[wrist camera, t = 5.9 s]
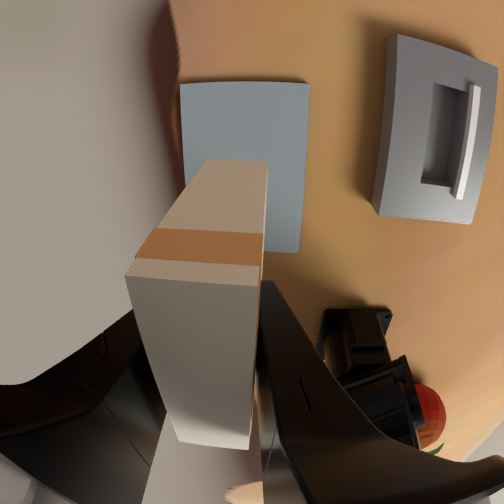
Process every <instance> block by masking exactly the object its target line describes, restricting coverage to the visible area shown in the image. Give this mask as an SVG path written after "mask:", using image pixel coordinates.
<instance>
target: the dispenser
mask: <svg viewBox="0 0 504 504" xmlns="http://www.w3.org/2000/svg"><path fill="white" fill-rule="evenodd" d="M497 79H498V68H497V67H495V66H493V65H490V64H488V63H486V62H483V61H481V60H479V59H476V58H474V57H471V56H468V55H466V54H463V53H460V52H458V51H455V50H452V49H449V48H446V47H443V46H440V45H437V44H434V43H430V42H427V41H423V40H420V39H416V38H413V37H409V36H405V35H401V34H395V35H391V36H388V37H387V43H386V72H385V89H384V103H383V114H382V125H381V134H380V143H379V151H378V159H377V167H376V174H375V181H374V187H373V193H372V199H371V205H372V207H373V208H374V210H375V211H376V213H377V214H378V216H387V217H399V218H411V219H422V220H433V221H443V222H453V223H462V224H471V223H472V220H473V216H474V213H475V209H476V205H477V202H478V198H479V194H480V190H481V186H482V182H483V177H484V173H485V168H486V163H487V158H488V153H489V147H490V141H491V135H492V128H493V121H494V113H495V104H496V93H497Z"/></svg>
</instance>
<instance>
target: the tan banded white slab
mask: <svg viewBox="0 0 504 504" xmlns="http://www.w3.org/2000/svg"><path fill="white" fill-rule="evenodd" d="M267 178H268V161H254V160H228V159H207V160H206V161H205V163H204V164H203V165H202V167H201V168H200V169H199V170H198V172H197V173H196V174H195V176H194V177H193V178H192V180H191V181H190V182H189V184H188V185H187V186H186V188H185V189H184V190H183V192H182V193H181V194H180V196H179V197H178V198H177V200H176V201H175V202H174V204H173V205H172V207H171V208H170V209H169V211H168V212H167V213H166V215H165V216H164V218H163V219H162V221H161V222H160V223H159V225H158V226H157V228H154V229H153V231H152V232H151V234H150V235H149V237H148V238H147V239H146V241H145V243H144V244H143V245H142V247H141V248H140V250H139V251H138V253H137V254H136V256H135V260H134V262H133V263H132V265H131V266H130V268H129V269H128V271H127V273H126V274H125V279H126V284H127V288H128V291H129V295H130V299H131V303H132V306H133V310H134V314H135V318H136V321H137V325H138V328H139V331H140V335H141V338H142V341H143V345H144V348H145V351H146V354H147V357H148V360H149V363H150V366H151V369H152V372H153V375H154V378H155V381H156V384H157V386H158V389H159V392H160V395H161V397H162V400H163V403H164V405H165V408H166V410H167V413H168V415H169V418H170V421H171V423H172V425H173V428H174V430H175V433H176V435H177V437H178V439H179V441H180V442H186V443H192V444H200V445H206V446H214V447H223V448H233V449H245V450H248V449H249V438H250V435H251V423H252V411H253V397H254V382H255V367H256V351H257V335H258V319H259V303H260V286H261V280H262V269H263V252H264V234H265V216H266V197H267Z"/></svg>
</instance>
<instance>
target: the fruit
mask: <svg viewBox="0 0 504 504" xmlns="http://www.w3.org/2000/svg"><path fill="white" fill-rule="evenodd" d="M415 388H416V391H417V395H418V398H419V402H420V405H421V409H422V413H423V416H424V420H425V424H426V425H425V426H423V427H420V428H418V429H417V431H418V435H419V439H420V444H421V449H423V448H425V447H427V446H429V445H430V444H432V443H434V442H435V441H436V440H437V439H438V438H439V437H440V435H441V433H442V432H443V430H444V427H445V423H446V411H445V407H444V405H443V403H442V401H441V398H440V396H439V395H438V394H437V393H436V392H435V391H434V390H433V389H431V388H429V387H427V386H425V385H423V384H415ZM443 444H444V443H443ZM443 444H442V445H441V446H440V447H438V448H437V449H435V450H432V451H430V452H427V453H430V454H432V455H434V454H436V453H438V452H439V451H440V449H441V448H442V446H443Z"/></svg>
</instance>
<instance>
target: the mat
mask: <svg viewBox="0 0 504 504" xmlns="http://www.w3.org/2000/svg"><path fill="white" fill-rule="evenodd" d="M309 94H310V84H305V83H289V82H257V81H238V82H206V83H190V84H180V101H181V124H182V143H183V158H184V173H185V186H187V185H188V184H189V182H190V181H191V180H192V178H193V177H194V176H195V174H196V173H197V172H198V170H199V169H200V168H201V167H202V165H203V164H204V163H205V161H206V160H207V159H228V160H254V161H268V178H267V197H266V216H265V234H264V252H283V253H299V244H300V233H301V222H302V210H303V197H304V184H305V170H306V154H307V137H308V118H309Z"/></svg>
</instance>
